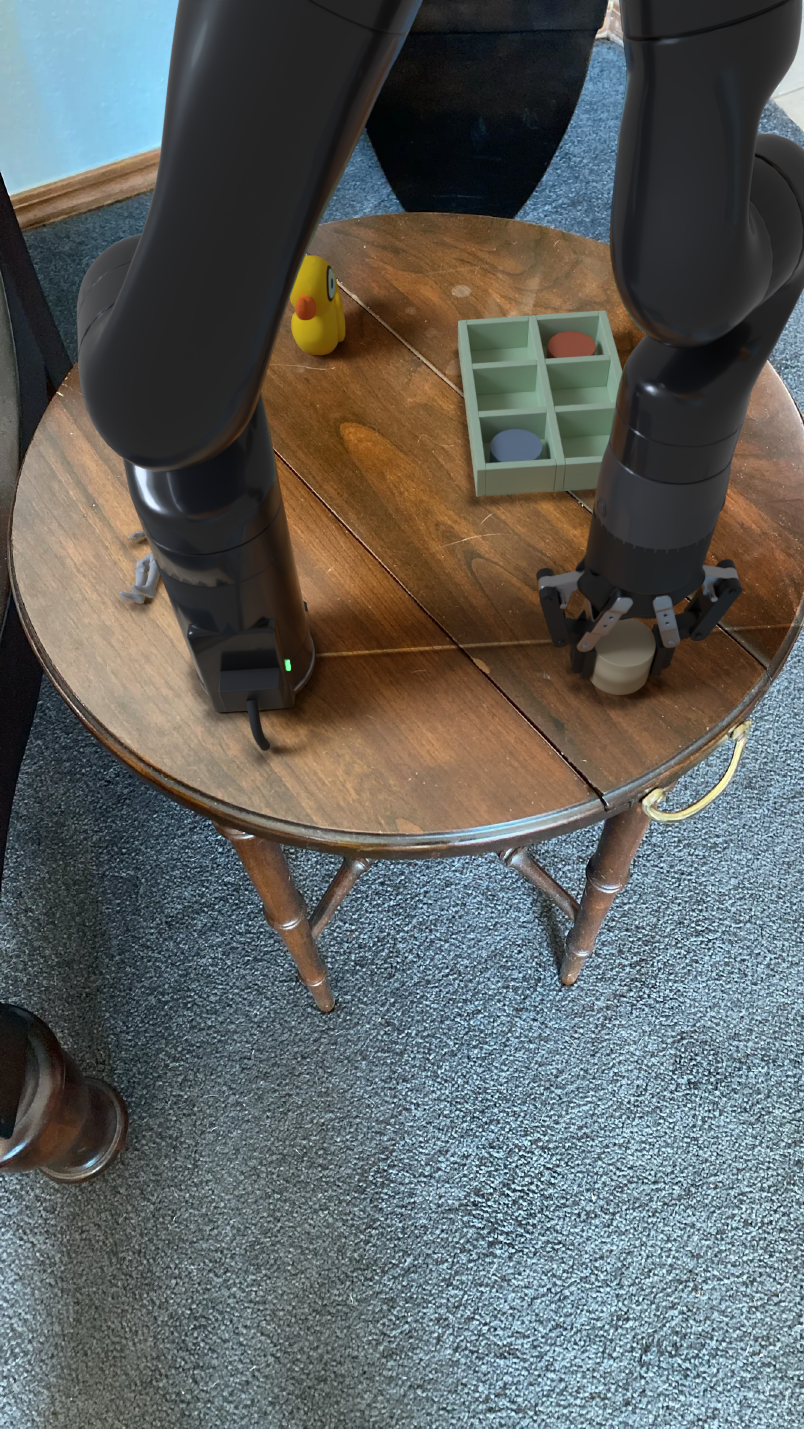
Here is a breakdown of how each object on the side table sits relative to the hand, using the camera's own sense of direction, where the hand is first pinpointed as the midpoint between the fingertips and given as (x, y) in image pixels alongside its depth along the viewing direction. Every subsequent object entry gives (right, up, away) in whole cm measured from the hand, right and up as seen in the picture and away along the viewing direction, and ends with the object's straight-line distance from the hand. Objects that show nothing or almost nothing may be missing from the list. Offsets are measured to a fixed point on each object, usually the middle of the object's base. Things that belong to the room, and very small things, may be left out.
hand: (617, 667), depth 73 cm
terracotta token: (0, +31, +21) cm, 37 cm away
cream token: (0, 0, 0) cm, 0 cm away
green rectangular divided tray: (-3, +24, +18) cm, 31 cm away
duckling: (-25, +34, +26) cm, 49 cm away
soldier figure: (-36, +10, +10) cm, 39 cm away
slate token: (-6, +19, +14) cm, 24 cm away
